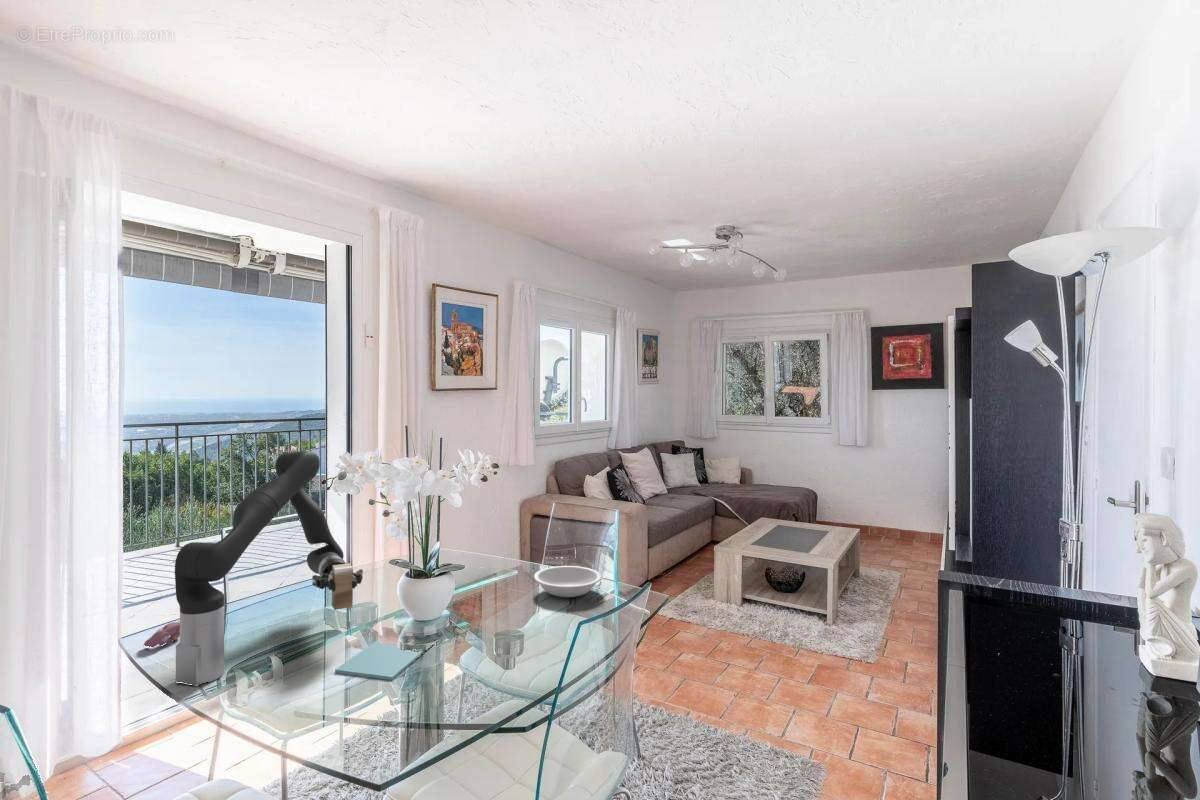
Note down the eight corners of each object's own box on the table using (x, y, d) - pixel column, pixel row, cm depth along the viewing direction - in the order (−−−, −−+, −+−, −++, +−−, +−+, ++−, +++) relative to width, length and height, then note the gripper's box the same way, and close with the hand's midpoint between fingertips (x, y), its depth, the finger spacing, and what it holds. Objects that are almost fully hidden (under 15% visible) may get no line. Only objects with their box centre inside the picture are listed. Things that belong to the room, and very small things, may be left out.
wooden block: (351, 607, 167) (352, 567, 167) (334, 609, 164) (335, 569, 164) (348, 602, 170) (349, 563, 170) (331, 604, 168) (332, 565, 168)
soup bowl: (578, 611, 198) (578, 591, 198) (519, 597, 210) (520, 578, 209) (613, 590, 218) (613, 572, 218) (558, 579, 230) (558, 562, 230)
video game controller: (153, 657, 163) (163, 635, 162) (140, 648, 164) (150, 626, 163) (184, 642, 173) (194, 621, 172) (172, 633, 174) (181, 613, 173)
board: (392, 680, 149) (392, 677, 149) (335, 672, 152) (335, 669, 152) (435, 643, 171) (435, 641, 171) (384, 637, 174) (384, 635, 174)
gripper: (307, 561, 176) (315, 576, 161) (359, 554, 183) (371, 569, 169) (307, 586, 176) (315, 604, 161) (358, 579, 183) (371, 595, 169)
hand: (344, 586), depth 165 cm, fingers closed on wooden block, 4 cm apart
